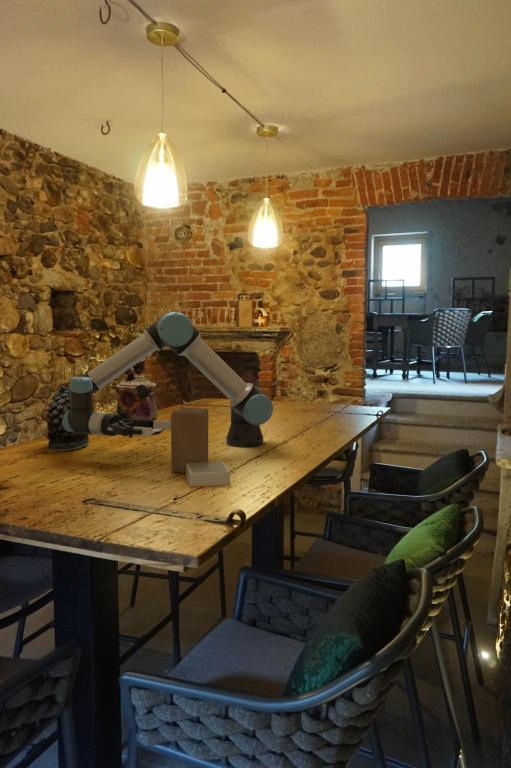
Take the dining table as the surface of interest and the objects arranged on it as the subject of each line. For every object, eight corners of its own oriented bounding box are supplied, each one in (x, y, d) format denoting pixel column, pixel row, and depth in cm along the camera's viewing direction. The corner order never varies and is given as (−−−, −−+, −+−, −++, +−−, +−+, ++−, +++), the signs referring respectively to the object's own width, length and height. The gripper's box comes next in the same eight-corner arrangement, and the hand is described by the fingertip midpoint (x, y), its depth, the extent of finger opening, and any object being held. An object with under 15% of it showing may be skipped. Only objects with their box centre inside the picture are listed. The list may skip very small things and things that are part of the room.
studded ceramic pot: (66, 440, 224) (65, 379, 222) (100, 442, 221) (99, 380, 219) (36, 452, 204) (34, 385, 201) (73, 454, 201) (72, 386, 198)
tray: (223, 474, 176) (223, 461, 176) (230, 484, 165) (230, 471, 164) (185, 475, 174) (185, 463, 173) (189, 486, 162) (189, 473, 162)
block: (200, 475, 175) (200, 412, 173) (170, 473, 177) (169, 411, 175) (209, 467, 185) (209, 408, 183) (180, 465, 187) (180, 407, 185)
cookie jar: (118, 424, 264) (117, 357, 260) (169, 425, 263) (169, 358, 260) (102, 434, 239) (101, 360, 236) (158, 435, 238) (158, 361, 235)
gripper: (124, 429, 201) (178, 433, 195) (84, 442, 177) (143, 447, 171) (124, 408, 200) (178, 412, 194) (83, 419, 176) (143, 423, 170)
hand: (161, 428), depth 182 cm, fingers open, 13 cm apart
